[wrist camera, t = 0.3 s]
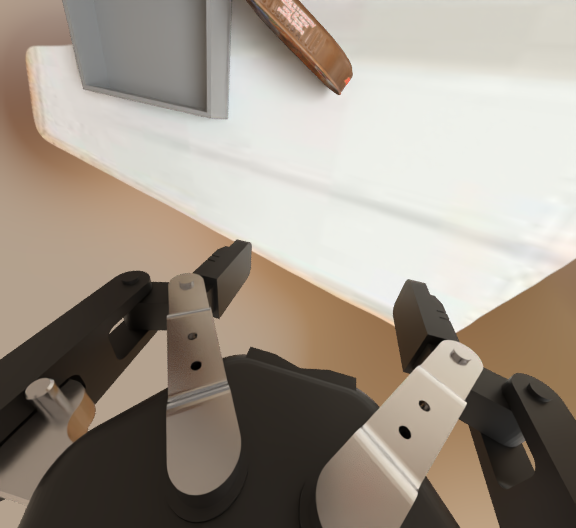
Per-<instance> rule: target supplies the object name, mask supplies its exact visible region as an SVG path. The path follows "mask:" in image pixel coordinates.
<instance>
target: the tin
mask: <svg viewBox="0 0 576 528" xmlns="http://www.w3.org/2000/svg"><path fill="white" fill-rule="evenodd" d="M246 1H247V2H248V3H249V5H250V6H251V7H252V8H253V9H254V11H255V12H256V13H257V14H258V16H259V17H260V18H261V19H262V20H263V21H264V22H265V24H266V25H267V26H268V27H269V28H270V29H271V30H272V31H273V32H274V33H275V34H276V35H277V36H278V37H279V38H280V39H281V40H282V41H283V42H284V43H285V44H286V45H287V46H288V47H289V49H290V50H291V51H292V52H293V53H294V54H295V55H296V56H297V57H298V58H299V59H300V60H301V61H302V62H303V63H304V64H305V65H306V66H307V67H308V68H309V69H310V70H311V71H312V72H313V73H314V74H315V75H316V76H317V77H318V78H319V79H320V80H321V81H322V82H323V83H324V84H325V85H326V86H327V87H328V88H329V89H331V90H332V91H333V92H334V93H336V94H337V95H340V94H341V92H342V90H343V89H344V87H345V86H346V85H347V84H348V82H349V81H350V79H351V78H352V76H353V73H352V66H351V63H350V61H349V59H348V58H347V56H346V55H345V53H344V52H343V50H342V49H341V47H340V46H339V45H338V44H337V42H336V41H335V40H334V39H333V37H332V36H331V35H330V34H329V33H328V32H327V31H326V29H325V28H324V27H323V26H322V25H321V24H320V23H319V22H318V21H317V20H316V19H315V17H314V16H313V15H312V14H311V13H310V12H309V11H308V10H307V9H306V8H305V7H304V6H303V4H302V3H301V2H300V1H299V0H246Z"/></svg>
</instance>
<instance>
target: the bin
mask: <svg viewBox="0 0 576 528" xmlns="http://www.w3.org/2000/svg"><path fill="white" fill-rule="evenodd" d="M62 2H63V6H64V10H65V14H66V19H67V23H68V26H69V31H70V35H71V40H72V44H73V48H74V52H75V56H76V61H77V65H78V69H79V73H80V77H81V82H82V86H83V89H84V90H89V91H93V92H97V93H102V94H106V95H110V96H115V97H119V98H124V99H128V100H132V101H137V102H141V103H145V104H150V105H154V106H158V107H163V108H167V109H172V110H176V111H180V112H185V113H189V114H193V115H198V116H202V117H207V118H211V119H228V101H229V72H230V42H231V13H232V0H62Z"/></svg>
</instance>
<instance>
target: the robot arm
mask: <svg viewBox="0 0 576 528" xmlns="http://www.w3.org/2000/svg"><path fill="white" fill-rule="evenodd" d="M251 250H252V245H251V243H250V242H246V241H241V240H236V241H235V242H234V243H233V244H232V245H231V246H230V247H227V246H225V247H223V248H220V249H218V250H217V251H216V252H214V253H213V254H212V256H210V257H209V258H208V260H206V261H205V262H204V263H203V264H202V265H201V266H200V267H199V268H197V269H196V270H195V271H194V272H193V273H185V274H180V275H177V276H175V277H174V278H172V279H171V280H170V282H151V280H150V276H149V274H147V273H145V272H143V271H129V272H125V273H122V274H120V275H118V276H116V277H115V278H114V279H112V280H111V281H109V282H108V283H107V284H105V285H104V286H102V287H101V288H100V289H98V290H97V291H95V292H94V293H93V294H91V295H90V296H88V297H87V298H86V299H84V300H83V301H81V302H80V303H79V304H77V305H76V306H74V307H73V308H72V309H70V310H69V311H67V312H66V313H65V314H63V315H62V316H60V317H59V318H58V319H56V320H55V321H54V322H52V323H51V324H49V325H48V326H47V327H45V328H44V329H42V330H41V331H40V332H38V333H37V334H35V335H34V336H33V337H31V338H30V339H28V340H27V341H26V342H24V343H23V344H22V345H20V346H19V347H17V348H16V349H14V350H13V351H12V352H10V353H9V354H7V355H6V356H5V357H3V358H2V359H0V501H2V500H5V499H8V500H11V501H14V502H18V503H20V504H24V505H27V508H26V510H25V513H24V515H23V518H22V520H21V522H20V524H19V526H18V528H460V527H459V525H458V524H457V522H456V521H455V519H454V518H453V516H452V514H451V513H450V511H449V510H448V508H447V507H446V505H445V504H444V503H443V501H442V500H441V498H440V496H439V495H438V494H437V492H436V490H435V489H434V487H433V486H432V484H431V483H430V481H429V480H428V479H427V477H426V474H427V473H428V471H429V469H430V467H431V466H432V464H433V462H434V460H435V459H436V457H437V455H438V453H439V452H440V450H441V448H442V446H443V445H444V443H445V441H446V440H447V438H448V436H449V434H450V432H451V431H452V429H453V427H454V426H455V424H456V422H457V420H458V419H459V420H461V421H463V422H464V423H466V424H468V425H469V428H470V431H471V435H472V438H473V441H474V445H475V448H476V451H477V454H478V458H479V461H480V464H481V467H482V471H483V474H484V477H485V480H486V484H487V487H488V490H489V494H490V497H491V500H492V504H493V507H494V510H495V513H496V516H497V520H498V523H499V526H500V528H576V420H575V419H574V417H573V416H572V414H571V413H570V411H569V410H568V408H567V407H566V405H565V404H564V402H563V401H562V399H561V398H560V397H559V396H558V395H557V394H556V393H555V392H554V391H553V390H552V389H551V388H550V387H549V386H547V385H546V384H544V383H543V382H541V381H539V380H538V379H536V378H534V377H532V376H529V375H527V374H522V373H516V374H514V375H513V376H511V377H510V378H509V379H506V378H504V377H502V376H500V375H497V374H496V373H493V372H492V371H490V370H488V369H486V368H484V367H483V364H482V361H481V360H480V358H479V357H478V356H477V354H476V353H475V352H473V351H472V350H471V349H470V348H468V347H467V346H465V345H463V344H461V343H460V342H459V340H458V337H457V335H456V333H455V331H454V329H453V326H452V324H451V322H450V321H449V318H448V315H447V314H446V311H445V309H444V307H443V305H442V303H441V302H440V301H439V300H438V299H437V298H436V297H435V296H433V295H430V293H429V291H428V288H427V286H426V284H425V283H422V282H418V281H414V280H409V279H408V280H407V281H406V282H405V284H404V286H403V288H402V290H401V292H400V294H399V296H398V298H397V300H396V302H395V305H394V308H393V318H394V324H395V329H396V335H397V340H398V346H399V351H400V357H401V362H402V368H403V372H406V373H409V374H410V375H409V376H408V377H407V378H406V379H405V380H404V381H403V383H402V384H401V385H400V386H399V387H398V388H397V389H396V390H395V392H394V393H393V394H392V395H391V396H390V397H389V398H388V399H387V400H386V401H385V402H384V403H383V405H382V406H381V407H379V406H378V405H377V404H376V403H375V402H374V401H373V400H372V399H371V398H370V397H369V396H368V395H367V394H365V393H364V392H362V391H361V390H359V389H358V388H356V378H354V377H351V376H347V375H344V374H341V373H337V372H334V371H331V370H319V369H303V368H299V367H297V366H295V365H293V364H292V363H290V362H288V361H286V360H285V359H282V358H281V357H279V356H278V355H276V354H273V353H270V352H266V351H263V350H260V349H256V348H253V347H250V349H249V351H248V353H247V355H245V354H242V355H233V356H228V357H225V358H222V356H221V351H220V346H219V342H218V337H217V333H216V328H215V323H214V319H213V317H215V318H218V319H219V318H220V317H221V316H222V314H223V313H224V311H225V310H226V308H227V307H228V305H229V304H230V303H231V301H232V299H233V298H234V297H235V295H236V294H237V292H238V291H239V290H240V288H241V287H242V285H243V284H244V282H245V281H246V279H247V278H248V276H249V273H250V269H251ZM122 318H124V321H123V322H122V323H121V324H120V325H119V326H118V327H116V328H115V329H114V330H113V331H112V332H111V333H110V331H111V329H112V328H113V326H114V325H116V324H117V323H118V322H119V321H120V320H121V319H122ZM158 330H167V359H168V360H167V361H168V362H167V363H168V388H166V389H164V390H162V391H160V392H159V393H157V394H155V395H153V396H151V397H150V398H148V399H146V400H144V401H142V402H141V403H139V404H137V405H135V406H133V407H131V408H130V409H128V410H126V411H124V412H122V413H120V414H119V415H117V416H115V417H113V418H111V419H109V420H108V421H106V422H104V423H102V424H100V425H98V426H97V427H95V428H93V429H92V430H90V431H88V427H89V426H90V424H91V423H92V421H93V419H94V416H95V412H96V408H95V404H96V403H97V401H98V400H99V399H100V398H101V397H102V396H103V395H104V393H105V392H106V391H107V390H108V389H109V387H110V386H111V385H112V384H113V383H114V381H115V380H116V379H117V378H118V377H119V376H120V375H121V373H122V372H123V371H124V370H125V369H126V367H127V366H128V365H129V364H130V363H131V362H132V360H133V359H134V358H135V357H136V356H137V355H138V353H139V352H140V351H141V350H142V349H143V347H144V346H145V345H146V344H147V343H148V342H149V340H150V339H151V338H152V337H153V336H154V335H155V333H156V332H157V331H158ZM109 333H110V334H109ZM524 441H526V443H527V445H528V447H529V449H530V451H531V453H532V455H533V458H534V460H535V471H534V469H533V467H532V465H531V462H530V460H529V458H528V456H527V454H526V451H525V449H524V447H523V445H522V443H523V442H524Z"/></svg>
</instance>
